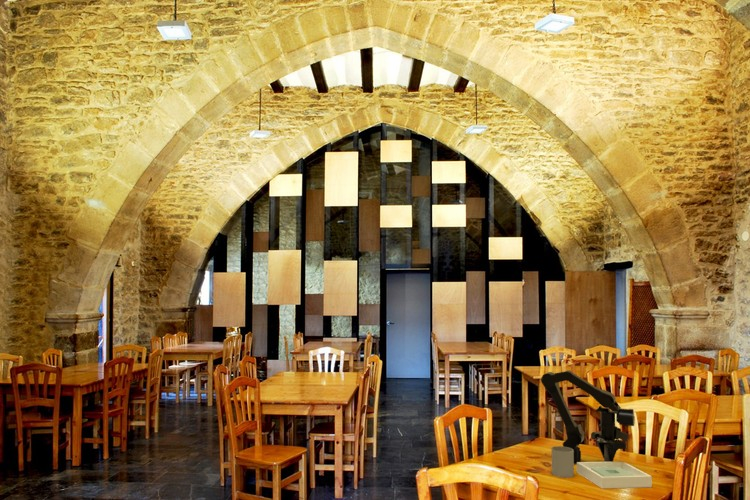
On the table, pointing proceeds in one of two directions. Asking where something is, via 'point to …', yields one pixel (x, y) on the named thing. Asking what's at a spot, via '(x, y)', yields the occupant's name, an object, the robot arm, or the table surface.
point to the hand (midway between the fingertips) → (608, 461)
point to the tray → (615, 479)
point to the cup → (562, 461)
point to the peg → (605, 454)
